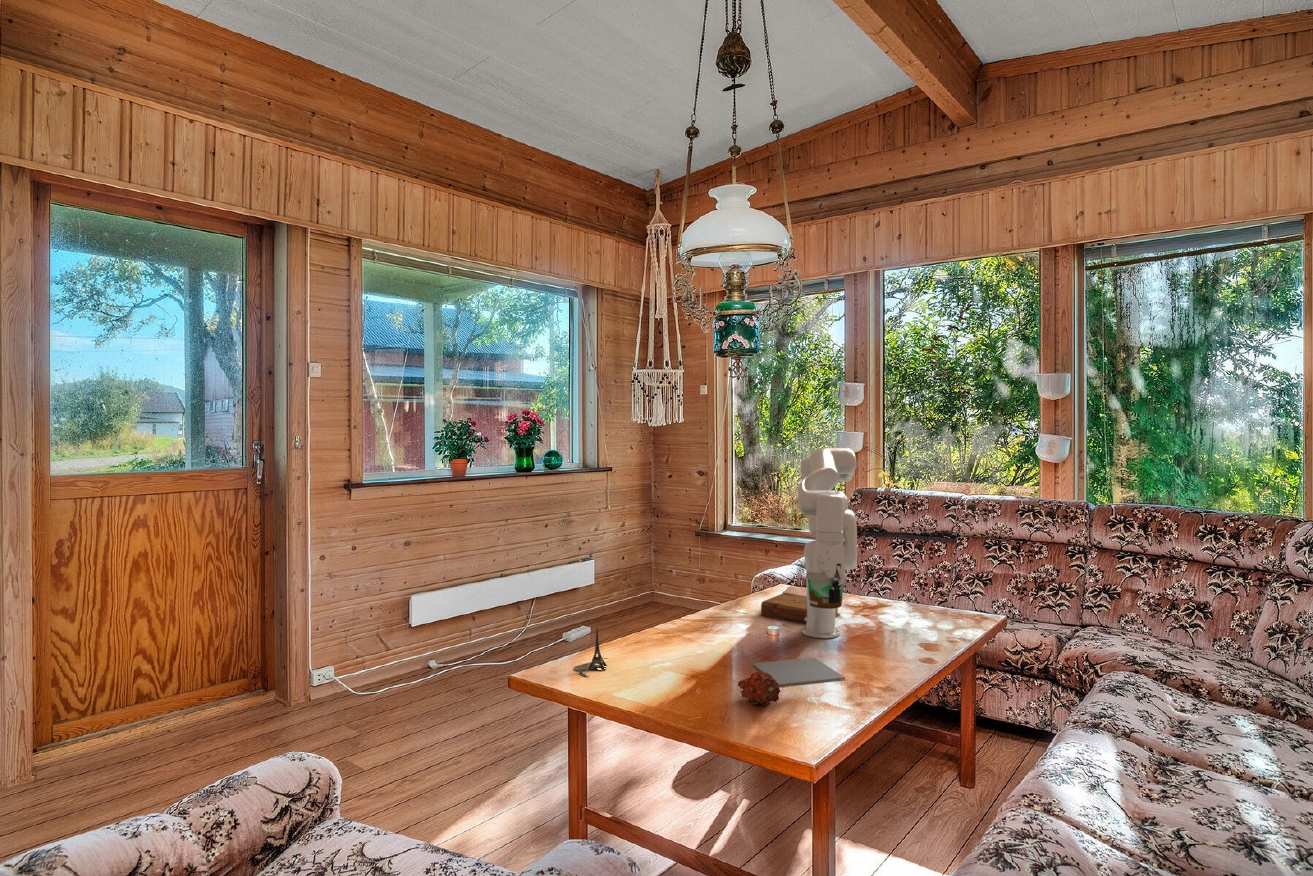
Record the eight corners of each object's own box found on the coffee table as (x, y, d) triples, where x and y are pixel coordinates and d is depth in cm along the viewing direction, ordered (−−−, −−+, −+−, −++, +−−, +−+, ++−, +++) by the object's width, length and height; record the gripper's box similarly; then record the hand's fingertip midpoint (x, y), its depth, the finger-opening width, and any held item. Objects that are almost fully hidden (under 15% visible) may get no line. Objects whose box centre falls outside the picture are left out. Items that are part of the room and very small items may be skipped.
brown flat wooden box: (761, 617, 272) (761, 602, 272) (784, 607, 287) (784, 592, 287) (819, 627, 258) (819, 611, 258) (840, 616, 273) (840, 600, 273)
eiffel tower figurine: (606, 659, 224) (606, 616, 224) (627, 667, 216) (627, 622, 216) (565, 670, 214) (565, 625, 214) (586, 680, 206) (586, 632, 206)
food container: (816, 611, 204) (816, 575, 204) (805, 606, 210) (805, 571, 210) (855, 607, 208) (855, 572, 207) (843, 602, 213) (843, 568, 213)
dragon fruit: (781, 716, 183) (740, 711, 191) (791, 688, 189) (751, 684, 197) (767, 694, 180) (726, 690, 187) (778, 666, 186) (738, 663, 193)
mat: (753, 665, 217) (753, 663, 217) (814, 659, 222) (814, 657, 222) (779, 686, 200) (779, 684, 200) (845, 679, 205) (845, 677, 205)
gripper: (802, 533, 216) (802, 594, 216) (833, 542, 199) (833, 609, 200) (825, 532, 218) (825, 592, 218) (857, 541, 202) (857, 607, 202)
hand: (829, 599), depth 209 cm, fingers closed on food container, 5 cm apart
